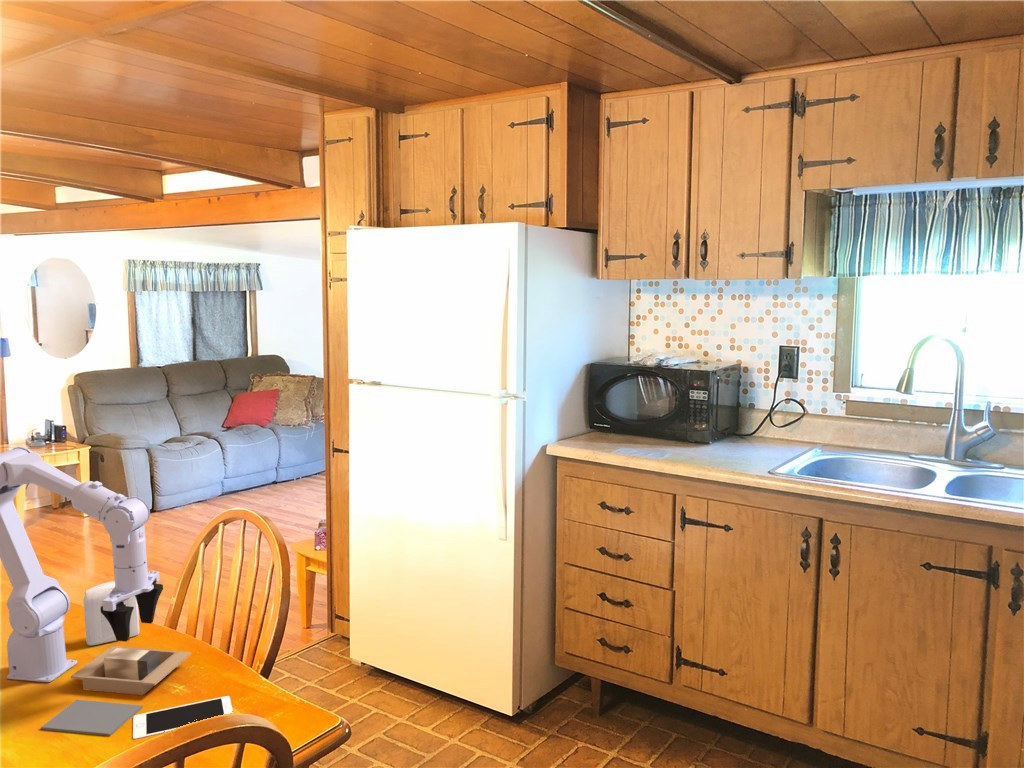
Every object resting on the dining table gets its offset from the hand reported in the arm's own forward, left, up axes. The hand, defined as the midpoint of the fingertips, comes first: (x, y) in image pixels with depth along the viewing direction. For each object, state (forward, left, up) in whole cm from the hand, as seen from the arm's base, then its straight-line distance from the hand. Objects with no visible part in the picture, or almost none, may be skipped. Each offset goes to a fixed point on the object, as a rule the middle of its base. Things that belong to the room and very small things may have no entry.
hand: (135, 631), depth 156 cm
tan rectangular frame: (-1, 0, -9) cm, 9 cm away
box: (-1, 0, -9) cm, 9 cm away
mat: (+1, -14, -9) cm, 17 cm away
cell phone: (+16, -11, -10) cm, 22 cm away
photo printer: (-15, +14, -10) cm, 23 cm away
